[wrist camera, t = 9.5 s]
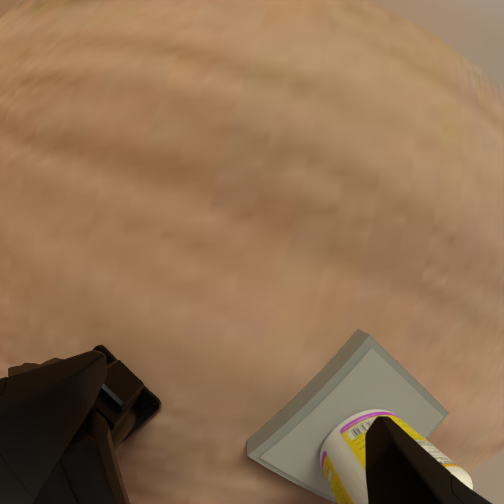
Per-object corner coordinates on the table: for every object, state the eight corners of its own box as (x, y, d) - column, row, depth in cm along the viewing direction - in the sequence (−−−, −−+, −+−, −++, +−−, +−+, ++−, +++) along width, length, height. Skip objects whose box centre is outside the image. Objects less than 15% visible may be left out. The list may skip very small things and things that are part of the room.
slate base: (343, 495, 19) (350, 510, 16) (246, 440, 19) (247, 458, 16) (435, 404, 19) (450, 413, 17) (357, 329, 20) (371, 335, 17)
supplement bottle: (361, 482, 16) (428, 586, 4) (298, 461, 16) (347, 602, 4) (414, 420, 17) (520, 502, 4) (358, 391, 17) (478, 503, 4)
